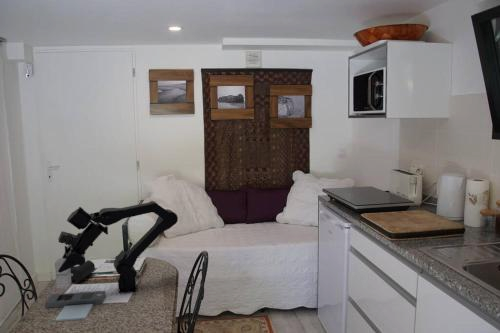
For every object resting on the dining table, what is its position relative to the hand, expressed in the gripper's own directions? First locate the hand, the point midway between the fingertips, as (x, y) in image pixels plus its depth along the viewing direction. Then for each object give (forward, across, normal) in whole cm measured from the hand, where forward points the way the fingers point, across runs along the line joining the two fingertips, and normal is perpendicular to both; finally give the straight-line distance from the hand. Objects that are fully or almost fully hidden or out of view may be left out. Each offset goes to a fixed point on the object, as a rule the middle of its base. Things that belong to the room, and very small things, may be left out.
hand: (58, 269), depth 145 cm
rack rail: (+6, +1, +13) cm, 15 cm away
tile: (+7, +10, +12) cm, 18 cm away
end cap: (+4, -21, +16) cm, 26 cm away
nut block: (+4, 0, +6) cm, 7 cm away
